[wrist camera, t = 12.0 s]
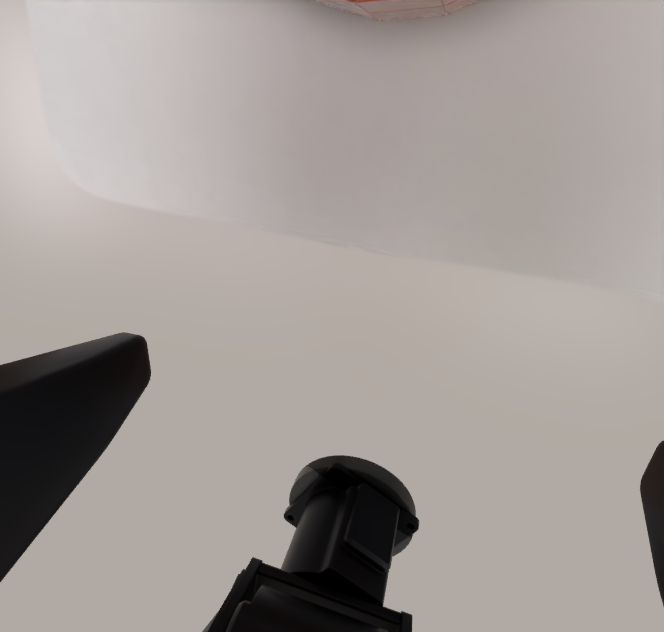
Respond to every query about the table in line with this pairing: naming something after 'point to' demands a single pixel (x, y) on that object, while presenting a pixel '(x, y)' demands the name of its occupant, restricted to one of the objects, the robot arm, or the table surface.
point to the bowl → (398, 7)
